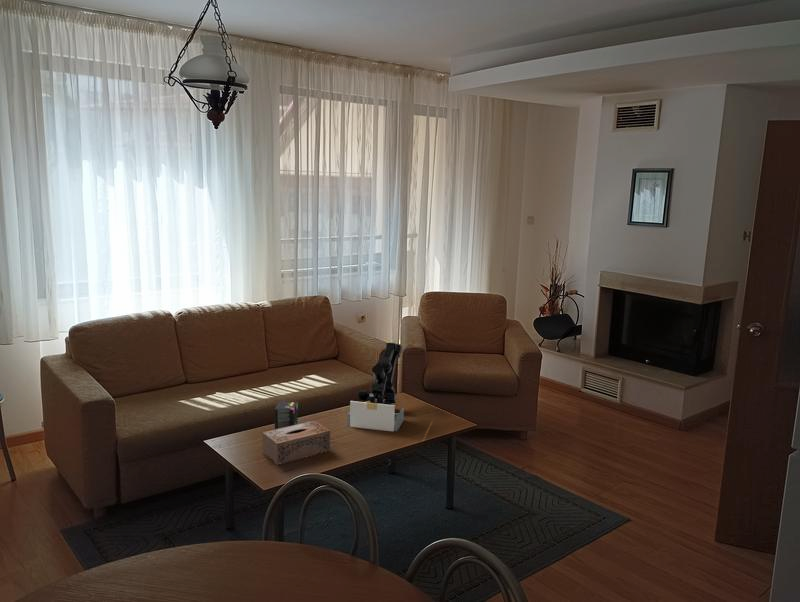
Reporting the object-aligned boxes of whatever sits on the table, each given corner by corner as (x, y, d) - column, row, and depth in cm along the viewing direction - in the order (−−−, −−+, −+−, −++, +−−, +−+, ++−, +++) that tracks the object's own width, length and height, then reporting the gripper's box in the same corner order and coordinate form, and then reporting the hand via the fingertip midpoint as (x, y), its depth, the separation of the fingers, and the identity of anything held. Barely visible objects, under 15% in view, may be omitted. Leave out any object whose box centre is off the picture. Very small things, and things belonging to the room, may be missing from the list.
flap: (350, 426, 309) (350, 400, 307) (394, 430, 304) (394, 405, 302) (349, 426, 308) (350, 401, 306) (393, 431, 303) (394, 405, 301)
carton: (356, 416, 324) (356, 403, 322) (403, 421, 319) (403, 408, 317) (347, 427, 309) (347, 413, 308) (397, 432, 304) (397, 419, 303)
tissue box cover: (314, 440, 293) (314, 420, 291) (330, 451, 282) (330, 430, 280) (262, 453, 278) (262, 432, 276) (277, 465, 267) (276, 443, 265)
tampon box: (294, 439, 294) (293, 409, 291) (274, 438, 294) (273, 409, 291) (298, 430, 304) (298, 401, 302) (279, 429, 304) (278, 401, 302)
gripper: (359, 374, 312) (352, 403, 303) (395, 378, 308) (389, 407, 299) (363, 385, 321) (356, 413, 312) (398, 388, 317) (393, 417, 308)
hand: (373, 412), depth 308 cm, fingers closed
